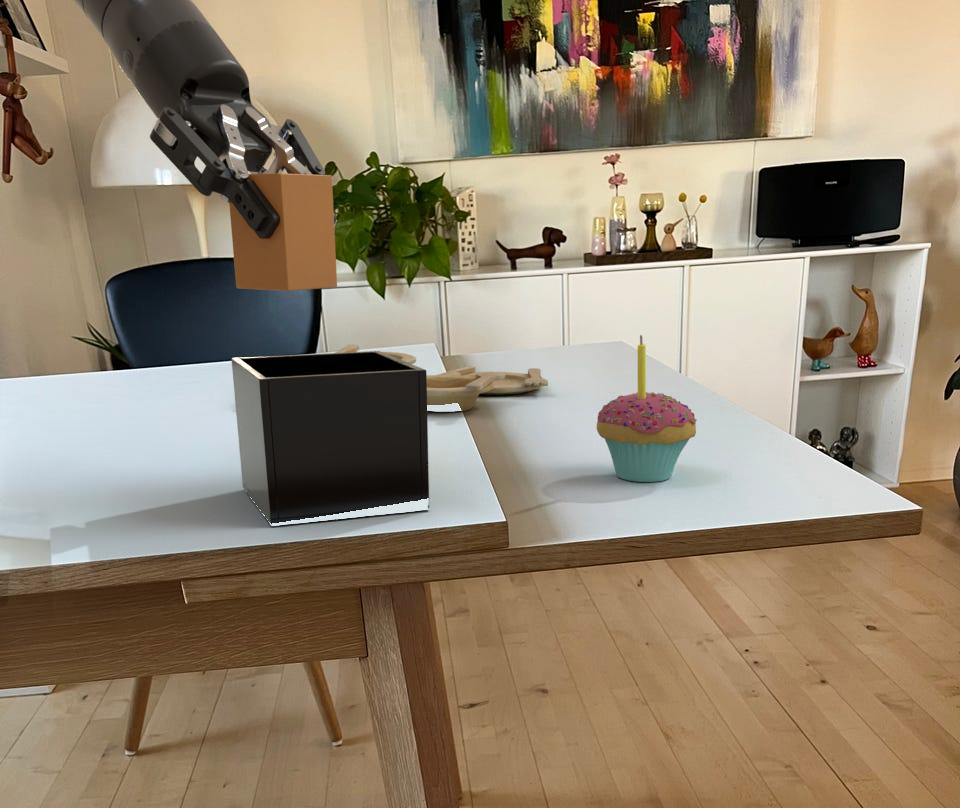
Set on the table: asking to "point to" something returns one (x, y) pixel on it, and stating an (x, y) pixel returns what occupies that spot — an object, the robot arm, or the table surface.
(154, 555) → the table surface
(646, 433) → the cupcake
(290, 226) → the tan cardboard block
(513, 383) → the tableware set
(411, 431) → the trash can
